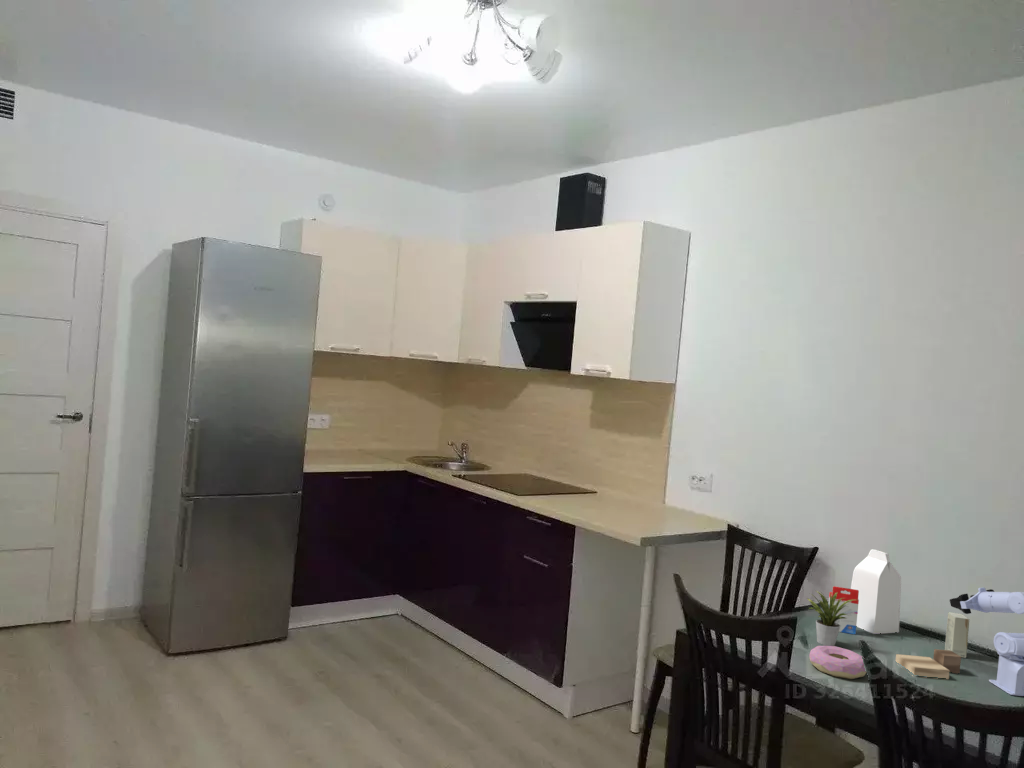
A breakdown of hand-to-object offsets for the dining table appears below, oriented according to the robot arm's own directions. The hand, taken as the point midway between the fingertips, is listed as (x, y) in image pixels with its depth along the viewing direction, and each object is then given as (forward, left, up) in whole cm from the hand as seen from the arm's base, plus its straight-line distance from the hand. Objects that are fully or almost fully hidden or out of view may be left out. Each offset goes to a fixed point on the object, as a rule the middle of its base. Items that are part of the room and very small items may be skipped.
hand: (961, 601), depth 231 cm
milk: (+27, +12, -19) cm, 35 cm away
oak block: (-12, +17, -19) cm, 28 cm away
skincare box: (+6, -4, -19) cm, 20 cm away
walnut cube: (-9, +8, -18) cm, 22 cm away
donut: (-17, +44, -19) cm, 51 cm away
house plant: (+6, +36, -18) cm, 41 cm away
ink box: (+20, +26, -19) cm, 38 cm away
